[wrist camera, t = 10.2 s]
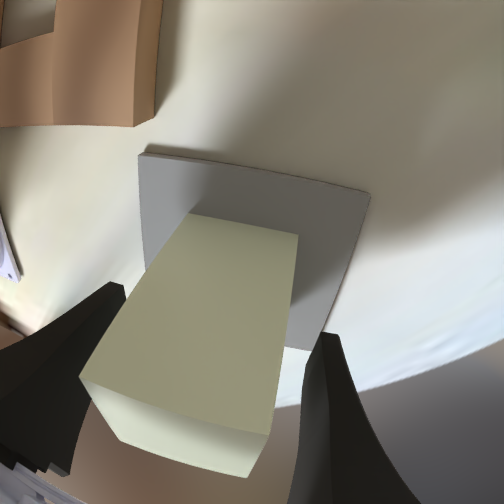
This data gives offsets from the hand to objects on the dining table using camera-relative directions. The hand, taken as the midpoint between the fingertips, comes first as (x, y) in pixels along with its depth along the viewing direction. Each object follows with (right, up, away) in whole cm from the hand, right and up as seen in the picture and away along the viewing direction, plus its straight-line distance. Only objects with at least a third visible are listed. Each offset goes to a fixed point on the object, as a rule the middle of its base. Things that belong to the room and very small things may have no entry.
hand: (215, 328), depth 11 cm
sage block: (+1, +2, +3) cm, 4 cm away
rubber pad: (+1, +2, +3) cm, 4 cm away
